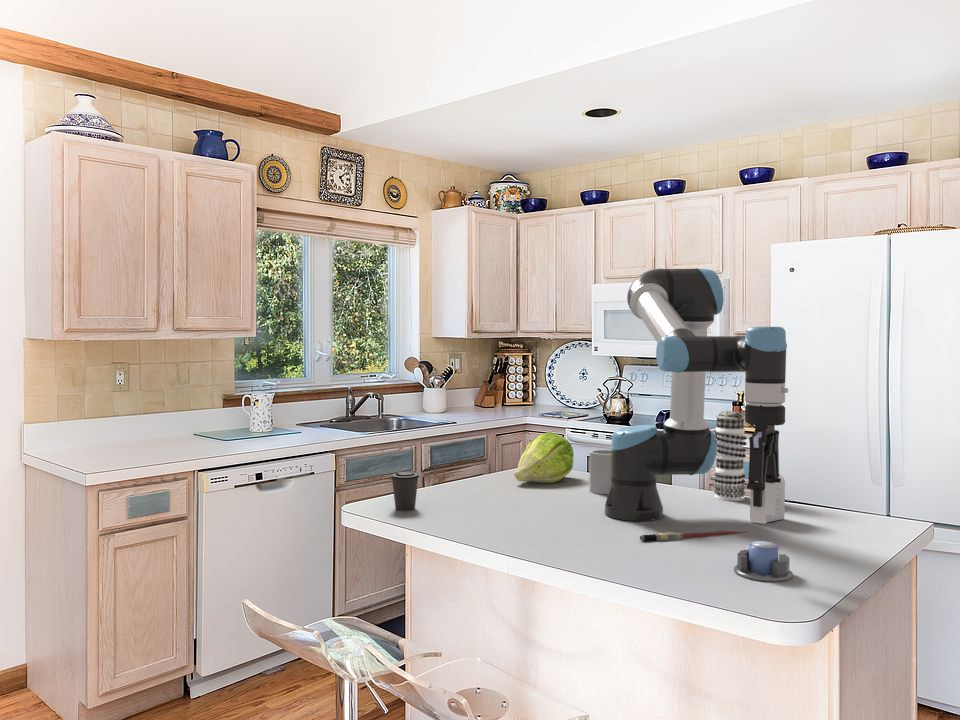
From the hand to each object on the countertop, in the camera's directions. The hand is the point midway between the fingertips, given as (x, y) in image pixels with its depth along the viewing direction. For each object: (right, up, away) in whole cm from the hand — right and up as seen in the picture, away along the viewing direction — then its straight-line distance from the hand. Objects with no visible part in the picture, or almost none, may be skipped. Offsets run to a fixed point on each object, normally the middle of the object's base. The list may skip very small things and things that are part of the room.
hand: (763, 518), depth 153 cm
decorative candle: (+16, -9, +70) cm, 73 cm away
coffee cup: (-77, -9, +58) cm, 97 cm away
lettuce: (-37, -8, +96) cm, 103 cm away
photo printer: (+17, -10, +43) cm, 47 cm away
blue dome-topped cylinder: (0, -11, 0) cm, 11 cm away
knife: (-6, -11, +29) cm, 32 cm away
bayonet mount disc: (0, -11, 0) cm, 11 cm away
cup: (-19, -8, +80) cm, 82 cm away
